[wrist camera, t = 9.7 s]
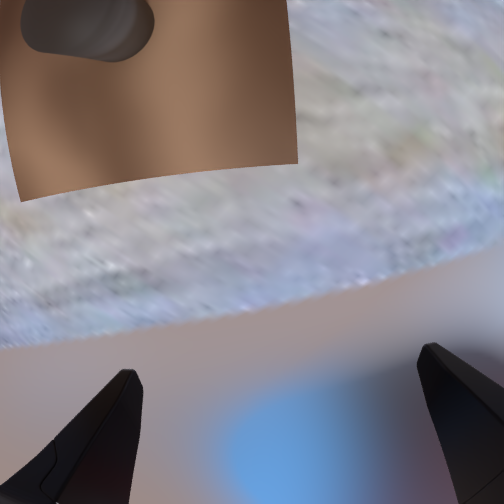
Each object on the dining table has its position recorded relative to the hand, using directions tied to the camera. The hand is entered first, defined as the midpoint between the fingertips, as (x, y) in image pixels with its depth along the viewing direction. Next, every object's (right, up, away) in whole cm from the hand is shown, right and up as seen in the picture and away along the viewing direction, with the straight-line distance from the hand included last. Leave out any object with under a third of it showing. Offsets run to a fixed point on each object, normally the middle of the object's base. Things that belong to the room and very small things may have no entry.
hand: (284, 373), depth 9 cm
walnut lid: (-7, +13, +2) cm, 15 cm away
